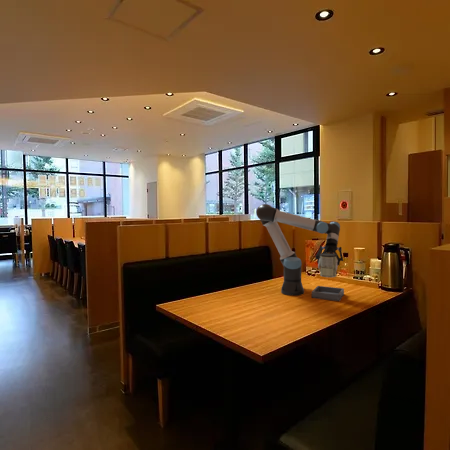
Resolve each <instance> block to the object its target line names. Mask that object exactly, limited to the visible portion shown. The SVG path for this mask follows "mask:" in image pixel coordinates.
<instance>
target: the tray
mask: <svg viewBox="0 0 450 450" xmlns="http://www.w3.org/2000/svg"><path fill="white" fill-rule="evenodd" d="M344 295H345V289H344V288H341V287H333V286H332V287H331V286H324V285H317V286H316V287H315V288H314V289H312V291H311V299H317V300H326V301H334V302H340V301H341V300H342V298H343V297H344Z"/></svg>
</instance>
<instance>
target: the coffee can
mask: <svg viewBox="0 0 450 450" xmlns="http://www.w3.org/2000/svg"><path fill="white" fill-rule="evenodd" d="M337 255H338V253H337V254H334V253H322V252H321V254H320V269H319V270H320V272H319V276H321V278H322V277H324V278H336V277H337V270H336V269H335V266H336V259H337V258H336V256H337Z"/></svg>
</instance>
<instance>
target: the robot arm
mask: <svg viewBox="0 0 450 450" xmlns="http://www.w3.org/2000/svg"><path fill="white" fill-rule="evenodd" d="M255 211H256V213H255V214H256V216H257V218H258V219H259V220H260V223H261V224H262V226H264V227H265V228H266V230H267V231H268V234H269V236H270V238H271V239H272V241H273V243H274V245H275V247H276V249H277V251H278V253H279V255H280V257H279V260H280V263H281V264H282V266H283V282H282V284H281V285H282V286H281V289H280V293H281V294H283V295H286V296H302V295H304V294H305V290H304V289H305V288H304V286H303V284H302V264H303V263H302V260H301V258H299V257H298V256H297V254H296V251H292V248H291V247H290V245H289V243H288V241H287V239H286V236H285V235H284V233H283V232H282V229H281V227H280V225H279V223H281V224H284V225H288V226H293V227H297V228H299V229H303V230H304V229H305V230H308V231H312V232H314V233H319V234H322V235H323V234H325V235H326V240H325V245H324V246H322V245H320V246H319V249H318V251H317V253H316V255H315V256H314V257H315V260H316V261H317V262H316V263H317V268H318V270H320V254H321V253H333V254H337V256H336V266H335V269H336V271H338V266H340V263H341V262H343V261H344V257H343V252H342V247H341V246H339V247H338V243H339V237H340V231H341V225H340V223H339V222H337V221H330V222H325V221H322V220H319V219H316V218H314V219H313V218H309V217H305V216H301V215H297V214H294V213H290V212H286V211H282V210H279V209H278V208H276V207H274V206H272V205H270V204H268V203H263V204H260V205H259V206H258V207H257V208H256V210H255ZM337 251H338V252H339V254H338V253H337ZM339 256H340V257H339Z"/></svg>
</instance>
